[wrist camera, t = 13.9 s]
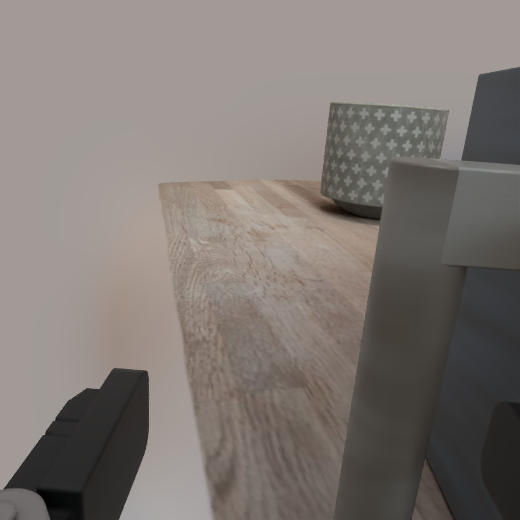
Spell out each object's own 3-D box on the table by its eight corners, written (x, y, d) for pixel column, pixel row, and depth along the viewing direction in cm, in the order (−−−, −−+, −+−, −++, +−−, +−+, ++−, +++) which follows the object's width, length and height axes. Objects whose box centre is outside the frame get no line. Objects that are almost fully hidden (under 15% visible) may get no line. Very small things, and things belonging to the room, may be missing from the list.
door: (311, 863, 10) (502, -114, 4) (285, 409, 25) (322, 62, 20) (667, 888, 10) (1288, -53, 4) (426, 419, 25) (501, 76, 20)
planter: (305, 201, 88) (315, 102, 82) (395, 204, 92) (411, 110, 86) (340, 225, 70) (357, 101, 64) (450, 228, 74) (475, 111, 68)
